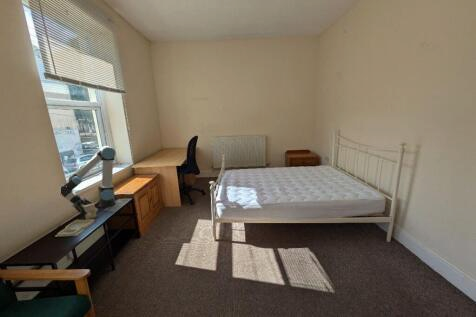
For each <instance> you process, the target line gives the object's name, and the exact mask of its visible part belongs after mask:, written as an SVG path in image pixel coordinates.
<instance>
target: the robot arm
mask: <svg viewBox="0 0 476 317" xmlns="http://www.w3.org/2000/svg"><path fill="white" fill-rule="evenodd" d="M116 154H117V153H116V150H115V149H114V148H113V147H111V146H109V145H104V146H103V145H102V147H101V148H100V149H99V150H98V151H96V152H95V155H94V156H93V157H91V159H90V160H88V161H87V162H86V163H84V165H82V166H81V167H80V168H79V169H78V170H77V171H76V172H74V173H73V174H72V175H70V176H69V178H68V181H67V183H65V184H64V185H63V186H62V187H61V194H62V195H61V194H60V195H61V196H62V197H63V198H65V199H66V200H67V201H69V202H71V203H72V205H71V206H72V207H73V208H74V209H75V210H77V212H78V213H79V214H84V215H85V214H86V215H88V216H89V217H90V216H91V214H90V213H89V212H88V211H86V210H84V208H83V206H84V205H88V204H92V203H93V202H92V201H90V200H88V199H87V198H86V197H84V198H81V196H80V195H78V194H77V193H76V192H74V191H73V190H74V189H75V188H76V187H78V186H79V185H81V183H82V182H83V178H84V177H85V176H86V175H87V174H88V173H90V171H91V170H92V169H94V168H95V167H96V166H97V165H98V164H99V163H101V162H102V171H101V175H102V177H101V184H98V186H97V189H98V195H99V203H98V206H100V207H99V208H108V207H111V206H110V205H112V206H114V205H115V204H116V203H115V202H116V199H115V188H114V187H115V186H114V185H113V172H114V171H113V169H114V168H113V167H114V164H113V163H114V161H115V159H116V158H115V157H116ZM66 186H67V187H66ZM114 203H115V204H114ZM113 204H114V205H113ZM107 206H108V207H107ZM95 209H96V213H97V212H98V211H99V209H98V208H97V207H96V206H95Z"/></svg>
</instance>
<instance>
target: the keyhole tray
mask: <svg viewBox="0 0 476 317" xmlns="http://www.w3.org/2000/svg"><path fill="white" fill-rule="evenodd" d="M94 223H96V219H95V218H91V219H88V220H86V219H75V220H74V221H72V222H70V223H69V224H68V225H65V228H63V229H62V230H60V231H59V232H57V233H56V235H54V237H59V238H60V237H76V236H78V235H80V234H81V233H83V231H85V230H86V229H88V228H89V227H90V226H92V224H94Z"/></svg>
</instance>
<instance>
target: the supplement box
mask: <svg viewBox="0 0 476 317" xmlns="http://www.w3.org/2000/svg"><path fill="white" fill-rule="evenodd" d="M82 207H83V208H84V210H86V211H88V212H89V213H90V214H91V216H90V217H89V216H88V215H86V214H84V218H85V220H89V219H95V218H97V217H98V215H97V212H96V209H95V207H96V206H95V203H94V202H92V204H88V205H82Z"/></svg>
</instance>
